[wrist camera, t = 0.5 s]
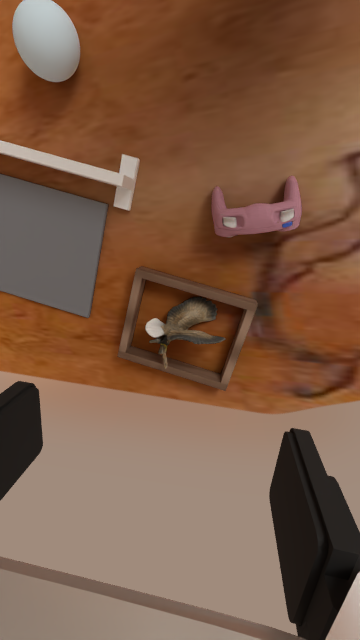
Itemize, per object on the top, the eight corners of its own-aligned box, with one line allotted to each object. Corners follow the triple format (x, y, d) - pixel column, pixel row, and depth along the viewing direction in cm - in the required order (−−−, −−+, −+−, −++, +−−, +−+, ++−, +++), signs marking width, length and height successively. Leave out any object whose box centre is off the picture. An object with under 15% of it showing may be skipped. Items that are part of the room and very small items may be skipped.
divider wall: (-25, 115, 36) (-58, 100, 32) (140, 159, 35) (128, 150, 31) (-26, 166, 38) (-57, 158, 34) (130, 210, 37) (117, 208, 33)
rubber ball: (41, 17, 32) (-2, -31, 26) (94, 31, 32) (63, -15, 26) (36, 85, 34) (-5, 54, 28) (86, 98, 34) (55, 70, 28)
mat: (-5, 172, 38) (-8, 171, 38) (108, 204, 37) (106, 204, 37) (-9, 286, 43) (-12, 286, 43) (89, 317, 42) (88, 318, 42)
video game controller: (213, 220, 37) (213, 248, 32) (210, 184, 34) (209, 209, 29) (293, 210, 36) (306, 238, 31) (297, 171, 32) (312, 195, 27)
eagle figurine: (181, 368, 42) (234, 344, 37) (149, 370, 36) (209, 341, 32) (166, 321, 44) (214, 293, 40) (134, 315, 38) (187, 282, 34)
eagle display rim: (141, 266, 39) (136, 268, 37) (255, 300, 38) (257, 304, 36) (123, 349, 43) (117, 356, 41) (225, 381, 42) (225, 391, 40)
